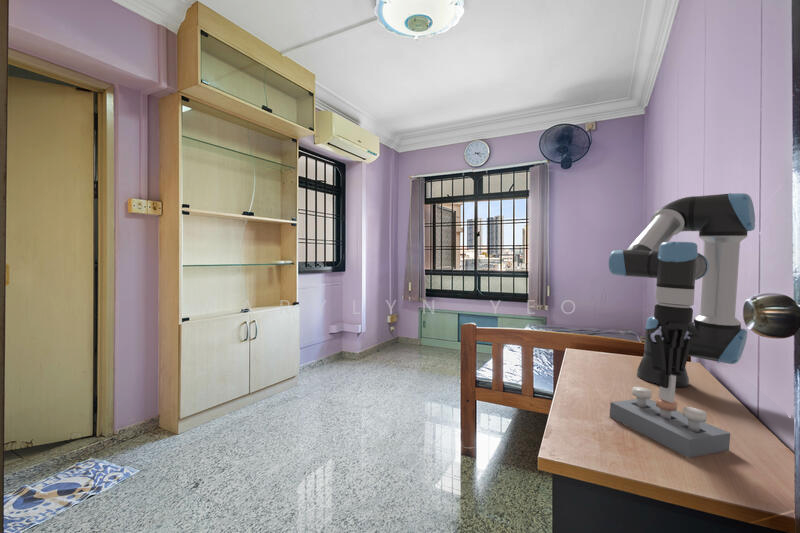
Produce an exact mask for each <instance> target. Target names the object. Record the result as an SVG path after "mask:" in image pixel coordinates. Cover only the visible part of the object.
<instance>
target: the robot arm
mask: <svg viewBox="0 0 800 533" xmlns="http://www.w3.org/2000/svg"><path fill="white" fill-rule="evenodd" d="M754 207H755V206H754V202H753V200H752V197H751V196H750V195H749V194H747V193H742V192H741V193H739V192H738V193H736V192H735V193H721V194H719V193H718V194H709V195H697V196H695V195H693V196H686V197H682V198H678V199H676V200H674V201H673V200H672V201H671V202H669V203H668V204H665V205H664V206H662V207H660V208H659V209H658V210H656V211H655V213H654V214H653V215H651V217H650V220H649V224H648V225H647V226H646V228H645V229H644V230H643V231H642V232H641V233H640V234H639V235H638V236H637V237H636V238H635V240H634V241H633V242H632V243H631V244H630V245H629V246H628V247H627V248H626V249H619V250H617V249H615V250H613V251H611V253H610V255H609V256H608V269H609V272H610V273H611V275H614V276H622V277H633V278H634V277H635V278H651V279H656V285H655V286H656V289H655V298H654V300H655V302H656V304H655V305H654V310H653V311H654V312H653V315H651V316H649V317H648V318H647V319H646V324H645V336H644V350H643V351H644V352H643V356H642V359H641V360H640V363H639V365H638V367H637V370H636V376H637V377H638V376H639V377H640V378H639V377H638V378H639V379H641V378H642V379H641V380H643V379H644V380H643V381H646V382H648V381H649V382H648V383H651V382H652V384H655V383H656V385H659V393H658V398H660V399H662V400H665V401H667V402H670V403H671V402H674V401H675V397H676V388H686V387H689V385H690V378H689V375H688V371H687V368H686V365H687V361H688V357H690V358H691V357H693V358H698V359H703V360H708V361H712V362H717V363H723V364H729V365H735V364H737V363H738V362H739V361H740V360H741V358H742V354H743V352H744V348H745V346H746V343H747V338H748V330H747V329H744V328H742V322H741V321H740V320H739V319H737V318H736V308H737V306H736V305H737V292H738V276H739V264H740V263H739V262H740V248H741V242H742V241H743V240H745V239H746V238H747V237H748V233H749V232H751V231H754V230H755V228H756V214H755V208H754ZM681 232H698V238H700V239H701V240H702V241H703V242H704V247H703V255H702V254H701V253H700V252H699V251H698V244H697V243H696V242H692V241H670V240H671V239H672V238H673V236H677V235H678V234H679V233H681ZM700 279H702V282H701V294H700V310H699V314H698V315H695V316H693V315H694V309H693V307H692V306H694V304H695V284H696V281H697V280H700Z"/></svg>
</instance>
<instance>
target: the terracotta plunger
mask: <svg viewBox="0 0 800 533" xmlns="http://www.w3.org/2000/svg"><path fill="white" fill-rule="evenodd" d="M655 402H656V406H657V407H659V408H660V417H662V418H664V419H666V420H671V411H676V410H677V408H678V402H677V401H676V400H674V402H671V403H670V402H667V401H665V400H662V399H660V398H659V397H655ZM677 411H678V410H677Z"/></svg>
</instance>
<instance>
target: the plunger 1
mask: <svg viewBox="0 0 800 533" xmlns="http://www.w3.org/2000/svg"><path fill="white" fill-rule="evenodd" d="M631 392H632V393H631V394H632V395H633V396H634V397H636V406H637V407H640V408H642V409H643V408H646V399H650V400H652V394H653V393H652V392H653V391H652V390H651V389H649V388H646V387H642V386H633V387H632V391H631Z"/></svg>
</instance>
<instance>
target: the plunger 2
mask: <svg viewBox="0 0 800 533" xmlns="http://www.w3.org/2000/svg"><path fill="white" fill-rule="evenodd" d="M682 413H683V416H684V417H686V418H688V427H687V429H688V430H690V431H693V432H695V433H700V422H705V423H707V416H708V413H707V412H706V411H704V410H702V409H699V408H695V407H690V406H684V407H683V410H682Z"/></svg>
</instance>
